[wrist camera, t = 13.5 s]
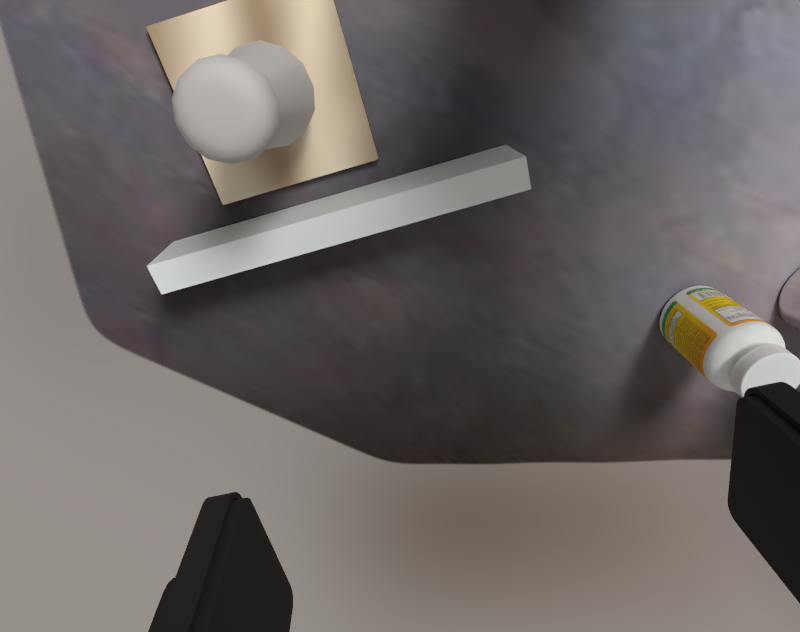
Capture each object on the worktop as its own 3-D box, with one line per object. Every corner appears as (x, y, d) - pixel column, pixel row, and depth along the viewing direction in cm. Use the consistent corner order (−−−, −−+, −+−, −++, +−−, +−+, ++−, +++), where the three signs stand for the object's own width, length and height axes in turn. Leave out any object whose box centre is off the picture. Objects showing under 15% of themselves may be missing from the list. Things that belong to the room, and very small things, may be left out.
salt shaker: (205, 68, 32) (113, 71, 20) (289, 24, 31) (242, 2, 20) (256, 158, 34) (199, 207, 23) (334, 120, 34) (317, 150, 22)
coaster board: (325, -30, 31) (324, -31, 30) (378, 158, 35) (378, 159, 35) (149, 27, 31) (146, 26, 31) (224, 203, 36) (222, 205, 36)
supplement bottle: (705, 270, 40) (797, 326, 32) (734, 316, 42) (829, 381, 34) (644, 313, 42) (717, 378, 33) (675, 356, 44) (752, 428, 35)
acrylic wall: (505, 144, 35) (526, 156, 31) (510, 173, 36) (531, 189, 32) (173, 241, 37) (146, 266, 32) (185, 267, 38) (161, 294, 33)
